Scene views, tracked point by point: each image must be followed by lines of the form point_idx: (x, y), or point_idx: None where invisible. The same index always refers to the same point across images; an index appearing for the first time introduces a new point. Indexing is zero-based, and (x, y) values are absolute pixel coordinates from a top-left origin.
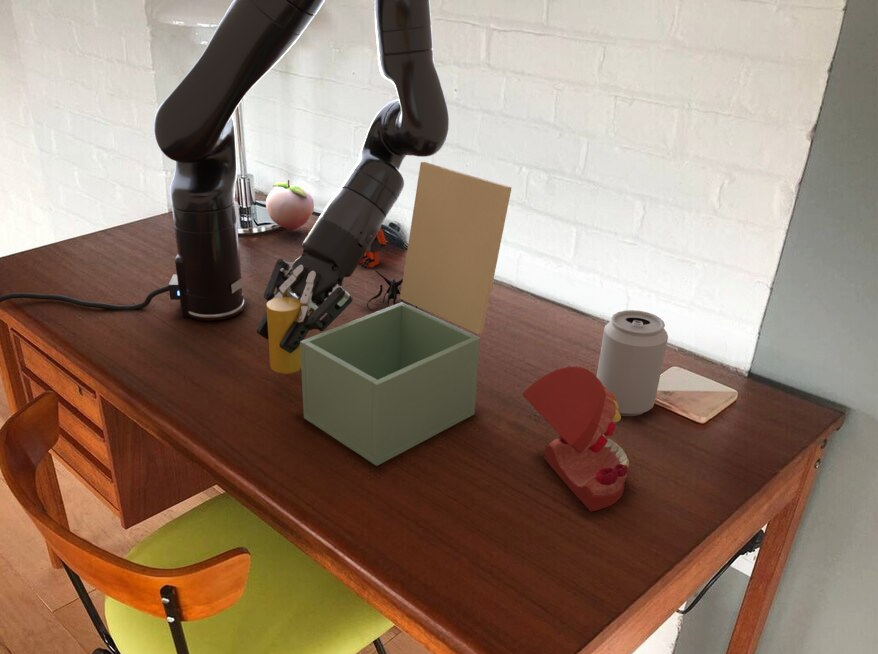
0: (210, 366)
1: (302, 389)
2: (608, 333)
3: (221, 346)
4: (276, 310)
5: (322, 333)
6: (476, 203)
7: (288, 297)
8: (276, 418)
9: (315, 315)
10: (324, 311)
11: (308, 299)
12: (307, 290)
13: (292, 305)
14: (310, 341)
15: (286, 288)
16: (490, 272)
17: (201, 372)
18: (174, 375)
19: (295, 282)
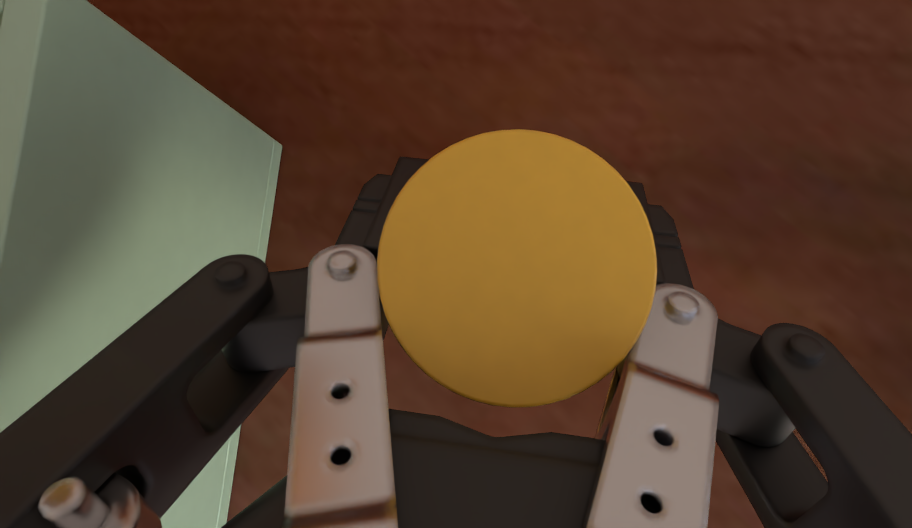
0: (794, 162)
1: (227, 105)
2: None
3: (899, 296)
4: (470, 146)
5: (6, 147)
6: None
7: (577, 380)
8: (348, 87)
9: (199, 297)
10: (117, 340)
11: (297, 366)
12: (343, 436)
13: (438, 291)
14: (4, 23)
15: (626, 406)
16: None
17: (782, 112)
18: (838, 33)
19: (590, 508)
